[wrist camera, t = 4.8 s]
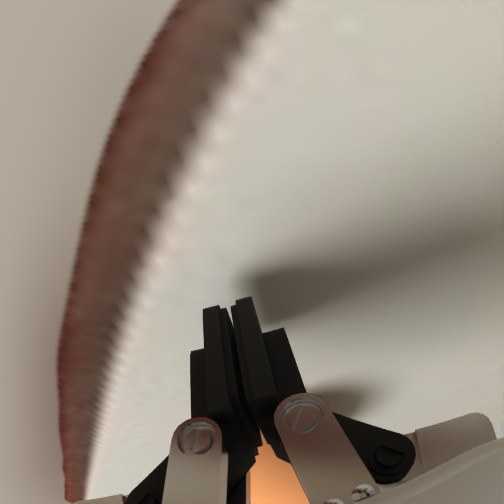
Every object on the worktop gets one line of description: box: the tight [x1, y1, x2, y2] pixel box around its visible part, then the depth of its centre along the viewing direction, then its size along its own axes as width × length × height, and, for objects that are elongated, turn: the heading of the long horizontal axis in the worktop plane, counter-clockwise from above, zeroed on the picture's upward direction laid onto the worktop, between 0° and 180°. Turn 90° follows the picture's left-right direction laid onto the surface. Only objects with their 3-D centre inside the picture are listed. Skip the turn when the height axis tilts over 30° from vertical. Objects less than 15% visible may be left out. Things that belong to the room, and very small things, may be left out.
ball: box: [250, 430, 310, 504], centre depth 14 cm, size 6×6×6 cm
